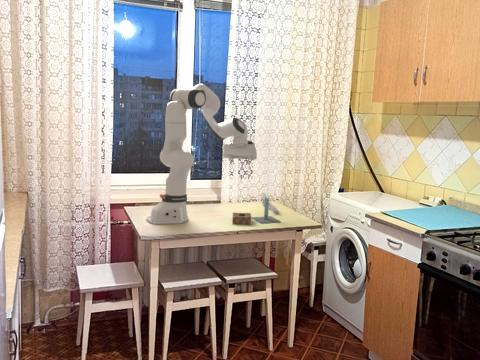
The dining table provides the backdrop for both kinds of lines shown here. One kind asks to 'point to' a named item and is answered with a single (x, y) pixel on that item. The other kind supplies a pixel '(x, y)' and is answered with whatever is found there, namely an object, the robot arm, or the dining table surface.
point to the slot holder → (242, 218)
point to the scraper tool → (266, 208)
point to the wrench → (269, 205)
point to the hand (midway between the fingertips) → (239, 163)
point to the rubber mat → (262, 221)
